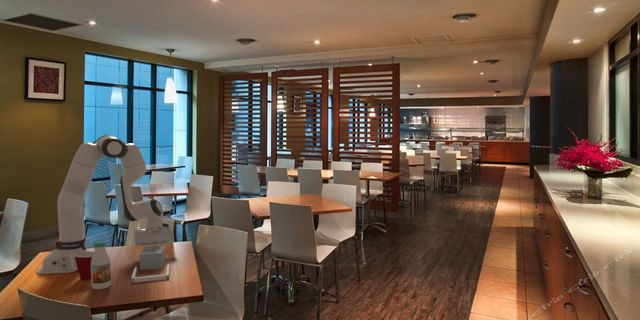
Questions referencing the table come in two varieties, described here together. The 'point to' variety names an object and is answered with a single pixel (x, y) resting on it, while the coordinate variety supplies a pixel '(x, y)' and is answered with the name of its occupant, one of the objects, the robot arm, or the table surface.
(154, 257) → the slate block
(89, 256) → the plastic cup
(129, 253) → the table surface
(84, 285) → the table surface
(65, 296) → the table surface
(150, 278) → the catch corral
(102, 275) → the milk bottle
